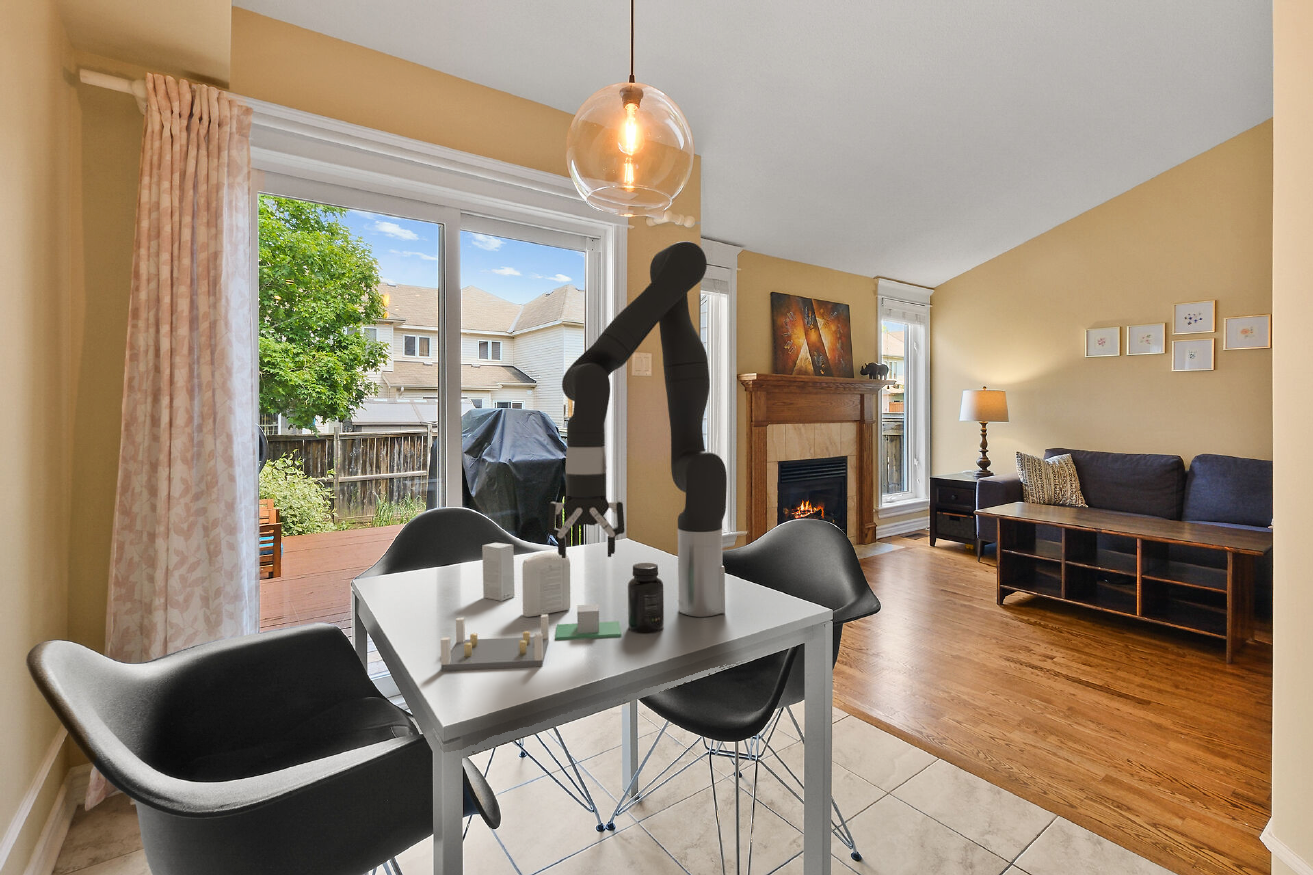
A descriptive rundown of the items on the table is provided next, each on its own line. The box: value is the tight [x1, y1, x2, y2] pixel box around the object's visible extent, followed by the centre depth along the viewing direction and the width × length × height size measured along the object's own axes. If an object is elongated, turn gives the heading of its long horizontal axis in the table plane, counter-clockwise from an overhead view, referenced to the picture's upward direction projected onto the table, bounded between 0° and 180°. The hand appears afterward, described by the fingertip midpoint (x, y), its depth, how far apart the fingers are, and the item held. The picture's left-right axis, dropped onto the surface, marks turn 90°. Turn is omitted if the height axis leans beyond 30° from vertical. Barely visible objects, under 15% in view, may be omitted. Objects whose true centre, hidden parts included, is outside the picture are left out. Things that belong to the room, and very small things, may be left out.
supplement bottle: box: [627, 562, 665, 634], centre depth 116 cm, size 7×7×12 cm
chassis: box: [440, 613, 550, 672], centre depth 103 cm, size 16×11×5 cm
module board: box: [554, 603, 622, 641], centre depth 115 cm, size 12×7×5 cm, turn 97°
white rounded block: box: [521, 551, 571, 618], centre depth 127 cm, size 10×4×12 cm, turn 123°
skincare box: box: [481, 542, 516, 602], centre depth 138 cm, size 6×4×12 cm
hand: (586, 556), depth 114 cm, fingers open, 8 cm apart
